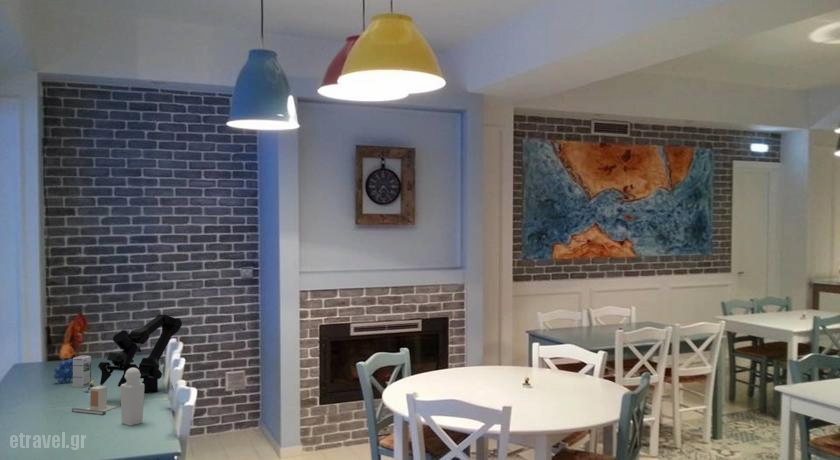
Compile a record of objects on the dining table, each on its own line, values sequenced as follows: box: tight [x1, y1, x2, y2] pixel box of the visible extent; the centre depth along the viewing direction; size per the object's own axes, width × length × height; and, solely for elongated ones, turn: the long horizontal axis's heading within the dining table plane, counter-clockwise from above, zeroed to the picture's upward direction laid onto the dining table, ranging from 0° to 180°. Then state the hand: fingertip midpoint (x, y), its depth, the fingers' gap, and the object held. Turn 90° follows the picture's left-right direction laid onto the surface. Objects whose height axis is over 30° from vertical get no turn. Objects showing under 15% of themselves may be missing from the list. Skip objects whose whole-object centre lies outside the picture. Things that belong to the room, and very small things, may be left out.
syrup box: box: [72, 355, 92, 389], centre depth 317 cm, size 6×6×14 cm
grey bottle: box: [120, 368, 145, 427], centre depth 258 cm, size 6×6×22 cm
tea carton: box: [89, 385, 108, 410], centre depth 276 cm, size 5×5×9 cm
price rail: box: [71, 407, 107, 416], centre depth 271 cm, size 16×1×1 cm, turn 75°
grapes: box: [53, 358, 73, 384], centre depth 323 cm, size 12×7×12 cm, turn 116°
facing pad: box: [85, 405, 118, 412], centre depth 277 cm, size 10×10×1 cm
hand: (109, 385), depth 283 cm, fingers open, 9 cm apart
